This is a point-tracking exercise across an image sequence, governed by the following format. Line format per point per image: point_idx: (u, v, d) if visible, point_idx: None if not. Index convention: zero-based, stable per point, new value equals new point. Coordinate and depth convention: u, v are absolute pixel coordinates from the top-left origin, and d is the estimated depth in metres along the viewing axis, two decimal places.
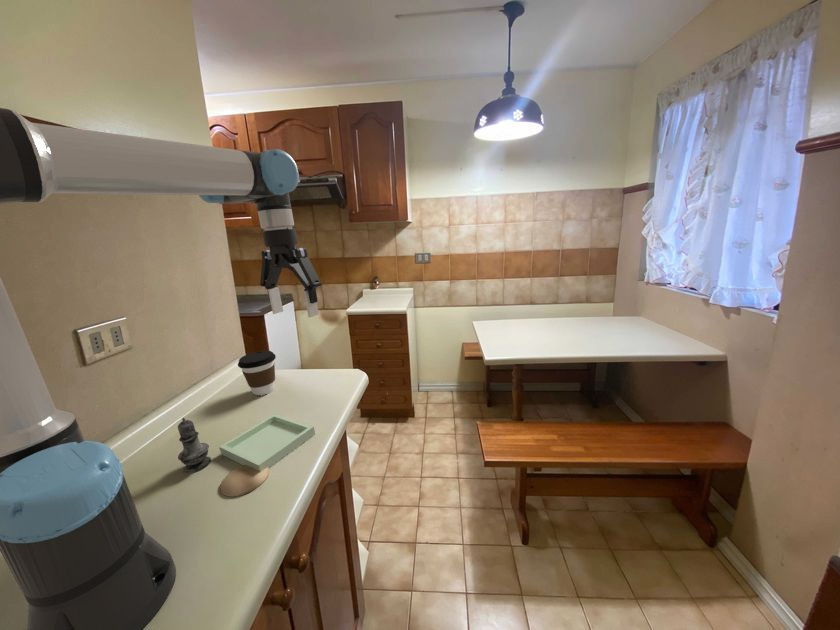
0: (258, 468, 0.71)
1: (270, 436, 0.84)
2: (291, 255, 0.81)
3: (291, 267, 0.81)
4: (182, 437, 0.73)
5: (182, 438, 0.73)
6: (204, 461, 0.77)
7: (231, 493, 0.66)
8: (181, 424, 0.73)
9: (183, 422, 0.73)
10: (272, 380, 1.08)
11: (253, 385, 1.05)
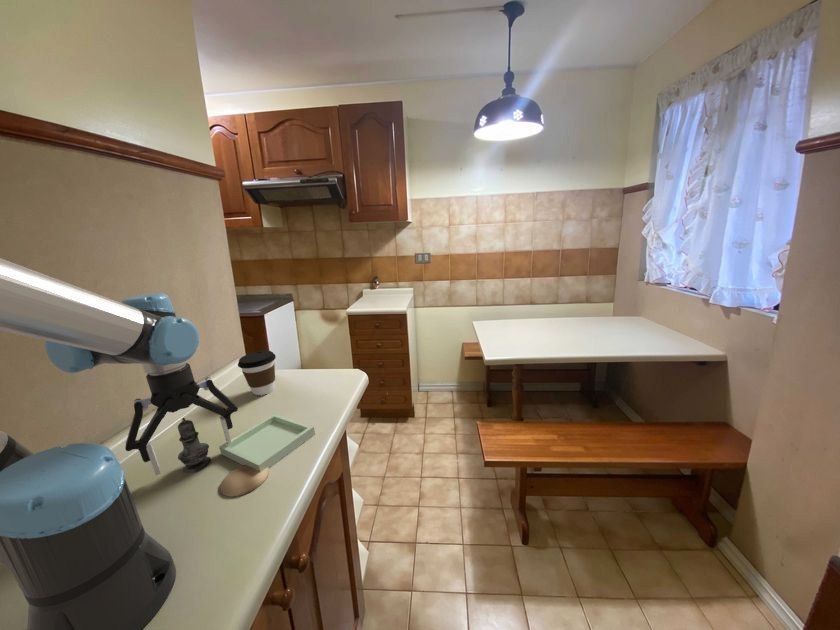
0: (258, 468, 0.71)
1: (270, 436, 0.84)
2: None
3: None
4: (182, 437, 0.73)
5: (182, 438, 0.73)
6: (204, 461, 0.77)
7: (231, 493, 0.66)
8: (181, 424, 0.73)
9: (183, 422, 0.73)
10: (272, 380, 1.08)
11: (253, 385, 1.05)
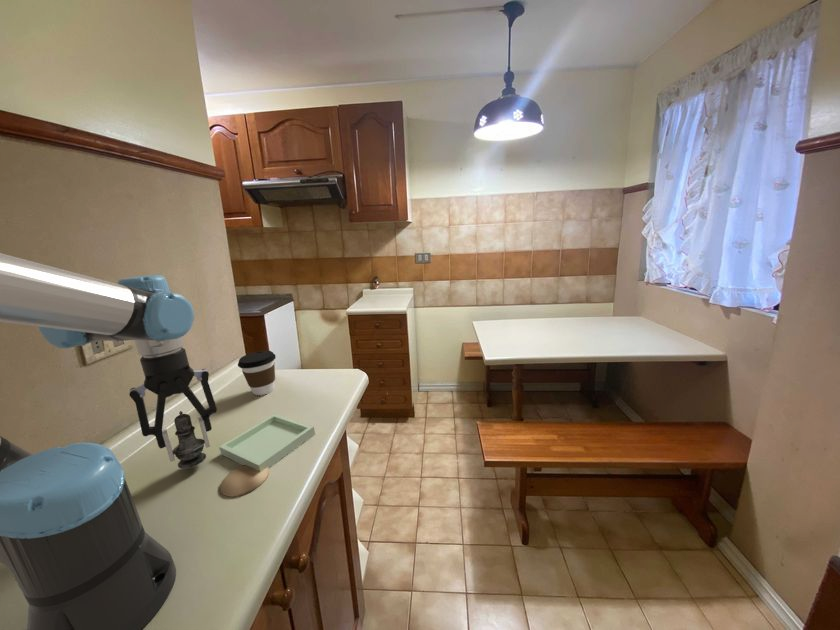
0: (258, 468, 0.71)
1: (270, 436, 0.84)
2: None
3: None
4: (178, 431, 0.72)
5: (178, 432, 0.72)
6: (199, 457, 0.75)
7: (231, 493, 0.66)
8: (178, 417, 0.72)
9: (180, 415, 0.72)
10: (272, 380, 1.08)
11: (253, 385, 1.05)
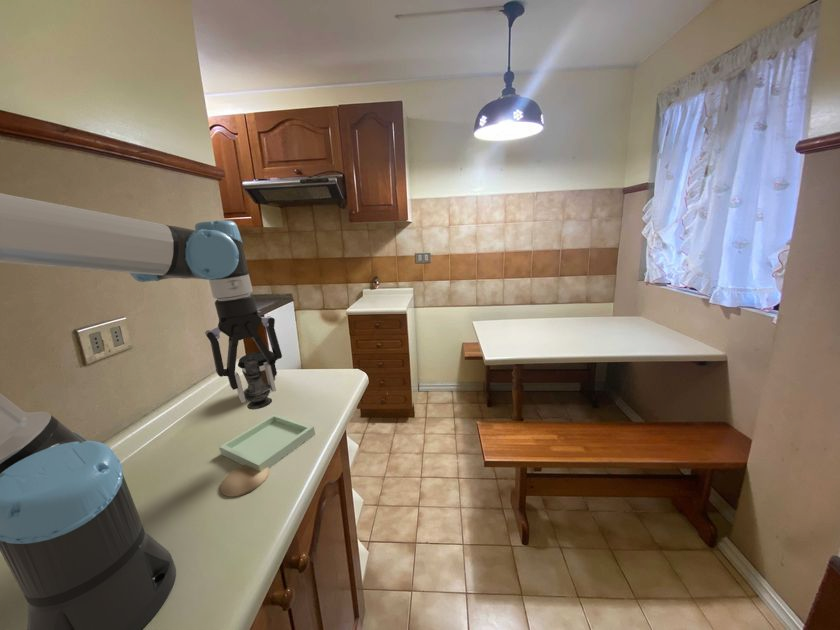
0: (258, 468, 0.71)
1: (270, 436, 0.84)
2: None
3: None
4: (248, 373, 0.75)
5: (248, 374, 0.75)
6: (266, 400, 0.79)
7: (231, 493, 0.66)
8: (248, 361, 0.75)
9: (249, 359, 0.75)
10: None
11: None
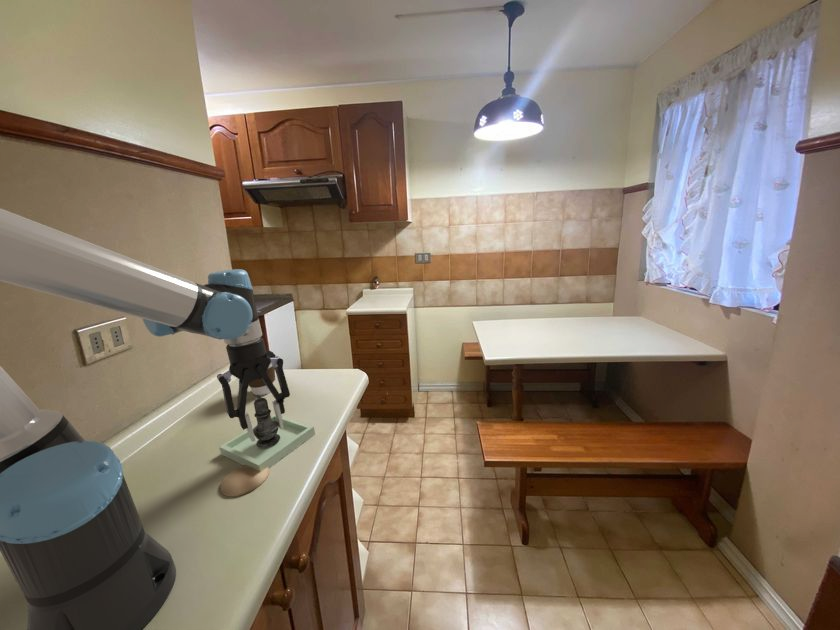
0: (258, 468, 0.71)
1: None
2: None
3: None
4: (258, 413, 0.78)
5: (258, 414, 0.78)
6: (274, 437, 0.81)
7: (231, 493, 0.66)
8: (257, 401, 0.78)
9: (259, 399, 0.78)
10: (272, 380, 1.08)
11: (253, 385, 1.05)
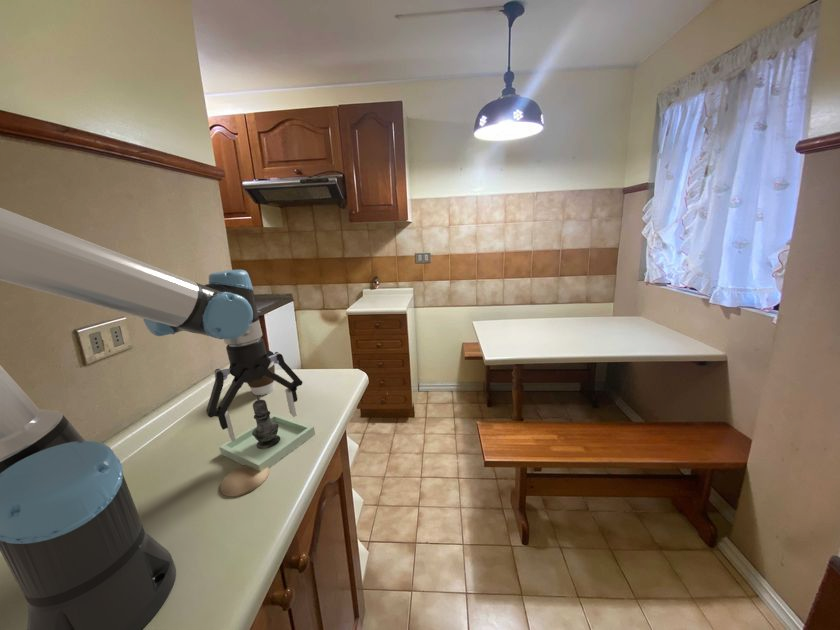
0: (258, 468, 0.71)
1: None
2: None
3: None
4: (257, 415, 0.78)
5: (257, 416, 0.78)
6: (274, 438, 0.81)
7: (231, 493, 0.66)
8: (256, 403, 0.78)
9: (258, 401, 0.78)
10: (272, 380, 1.08)
11: (253, 385, 1.05)
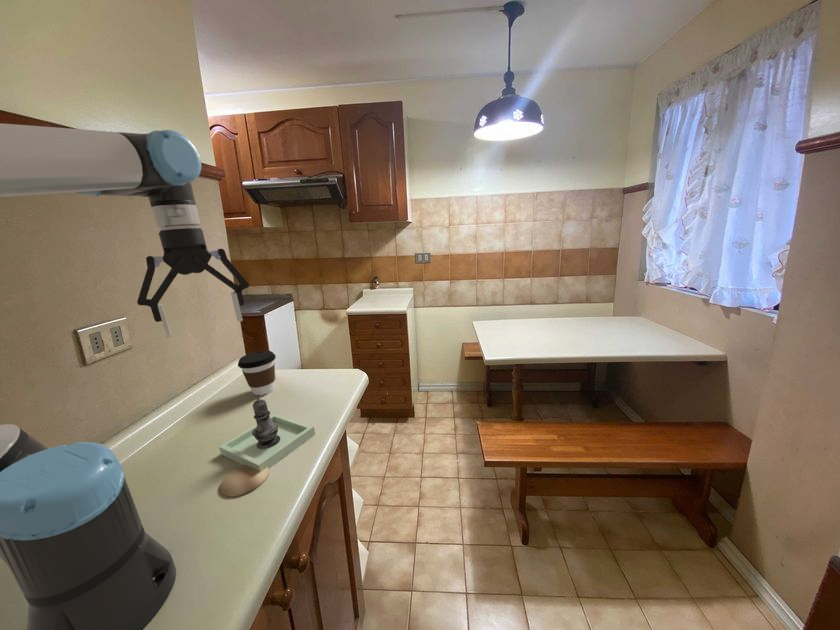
0: (258, 468, 0.71)
1: None
2: None
3: None
4: (257, 415, 0.78)
5: (257, 416, 0.78)
6: (274, 438, 0.81)
7: (231, 493, 0.66)
8: (256, 403, 0.78)
9: (258, 401, 0.78)
10: (272, 380, 1.08)
11: (253, 385, 1.05)
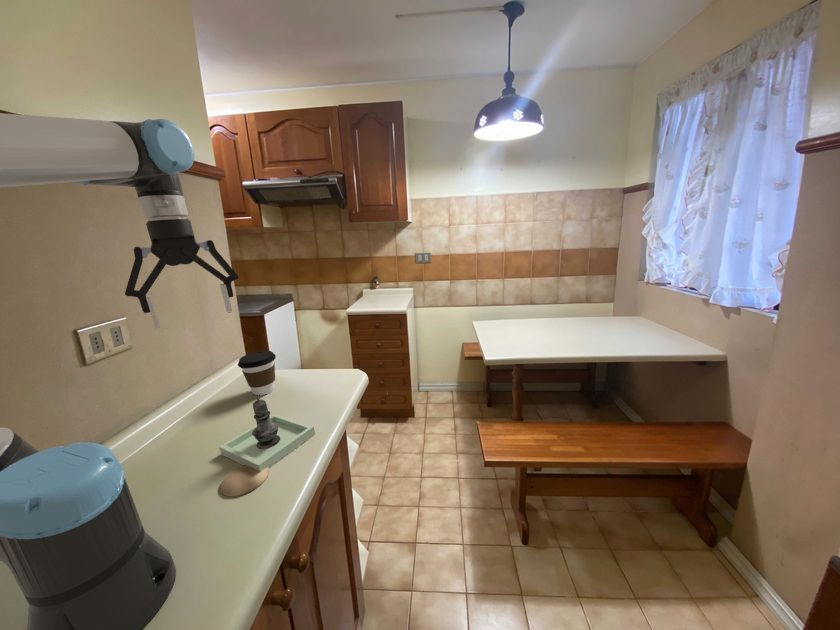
0: (258, 468, 0.71)
1: None
2: None
3: None
4: (257, 415, 0.78)
5: (257, 416, 0.78)
6: (274, 438, 0.81)
7: (231, 493, 0.66)
8: (256, 403, 0.78)
9: (258, 401, 0.78)
10: (272, 380, 1.08)
11: (253, 385, 1.05)
